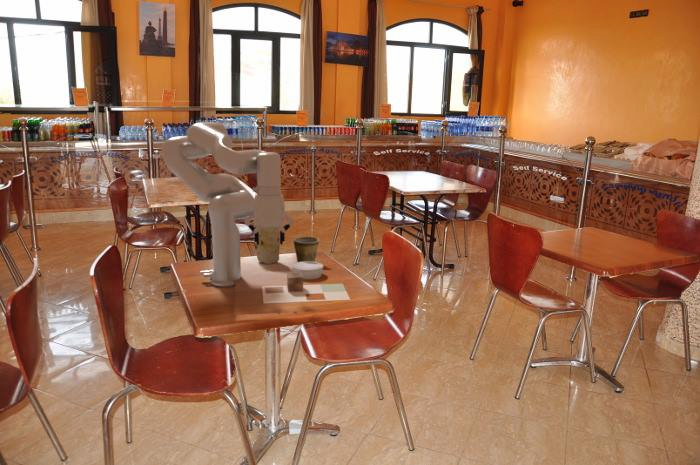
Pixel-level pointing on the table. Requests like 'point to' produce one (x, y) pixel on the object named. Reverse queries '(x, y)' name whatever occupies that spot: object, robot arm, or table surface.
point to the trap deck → (329, 291)
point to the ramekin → (308, 269)
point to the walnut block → (295, 282)
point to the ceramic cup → (306, 248)
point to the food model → (268, 244)
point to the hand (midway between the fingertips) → (269, 243)
